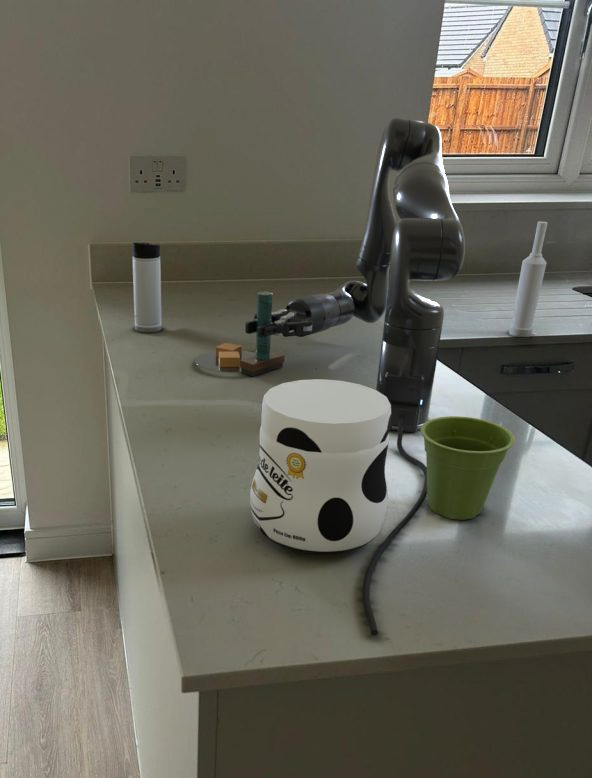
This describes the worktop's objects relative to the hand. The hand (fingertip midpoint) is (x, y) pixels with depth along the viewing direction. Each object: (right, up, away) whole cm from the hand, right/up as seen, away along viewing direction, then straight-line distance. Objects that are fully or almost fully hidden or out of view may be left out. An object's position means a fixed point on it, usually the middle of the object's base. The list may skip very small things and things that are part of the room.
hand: (253, 330), depth 149 cm
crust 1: (-4, -2, +14) cm, 15 cm away
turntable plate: (-4, -5, +12) cm, 13 cm away
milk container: (+5, -37, -47) cm, 61 cm away
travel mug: (-23, +8, +36) cm, 43 cm away
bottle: (+65, +7, +35) cm, 74 cm away
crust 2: (-4, -5, +9) cm, 11 cm away
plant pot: (+25, -34, -42) cm, 60 cm away
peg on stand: (+2, -6, +6) cm, 9 cm away
